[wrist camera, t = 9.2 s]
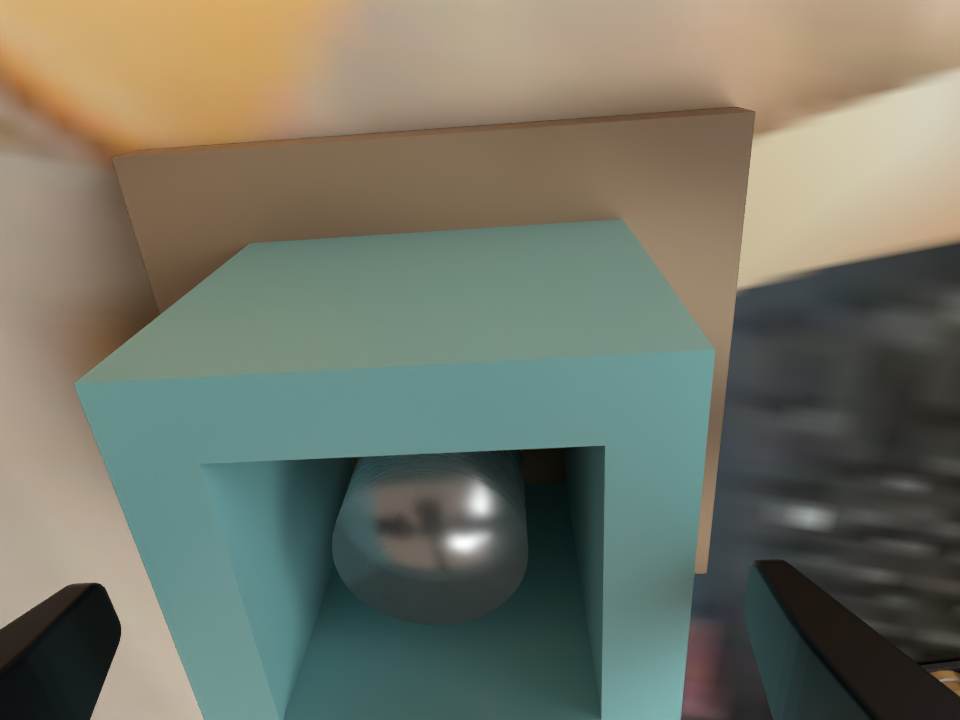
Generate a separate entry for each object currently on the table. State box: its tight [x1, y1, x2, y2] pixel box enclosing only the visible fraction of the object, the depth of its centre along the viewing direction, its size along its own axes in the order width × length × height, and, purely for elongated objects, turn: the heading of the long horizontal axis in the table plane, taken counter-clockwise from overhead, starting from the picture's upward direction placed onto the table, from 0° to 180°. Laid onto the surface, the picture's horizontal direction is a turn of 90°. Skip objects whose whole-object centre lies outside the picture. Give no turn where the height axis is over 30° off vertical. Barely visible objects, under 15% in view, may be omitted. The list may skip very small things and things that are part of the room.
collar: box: [74, 219, 715, 720], centre depth 12 cm, size 7×7×6 cm
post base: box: [112, 107, 755, 625], centre depth 13 cm, size 11×12×6 cm
